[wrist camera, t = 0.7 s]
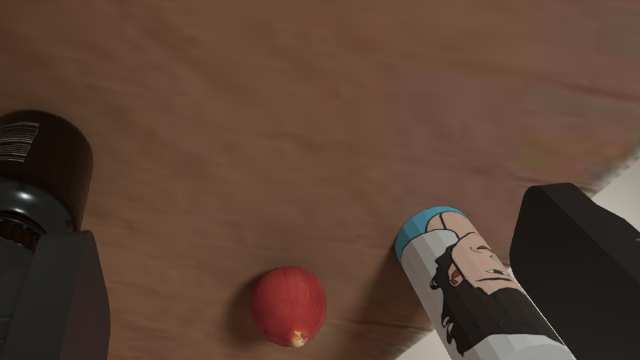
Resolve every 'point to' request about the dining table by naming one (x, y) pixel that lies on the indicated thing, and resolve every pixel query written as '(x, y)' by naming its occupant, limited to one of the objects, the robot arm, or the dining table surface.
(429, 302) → the cup
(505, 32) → the dining table surface
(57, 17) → the dining table surface
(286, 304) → the onion
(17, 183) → the supplement bottle
